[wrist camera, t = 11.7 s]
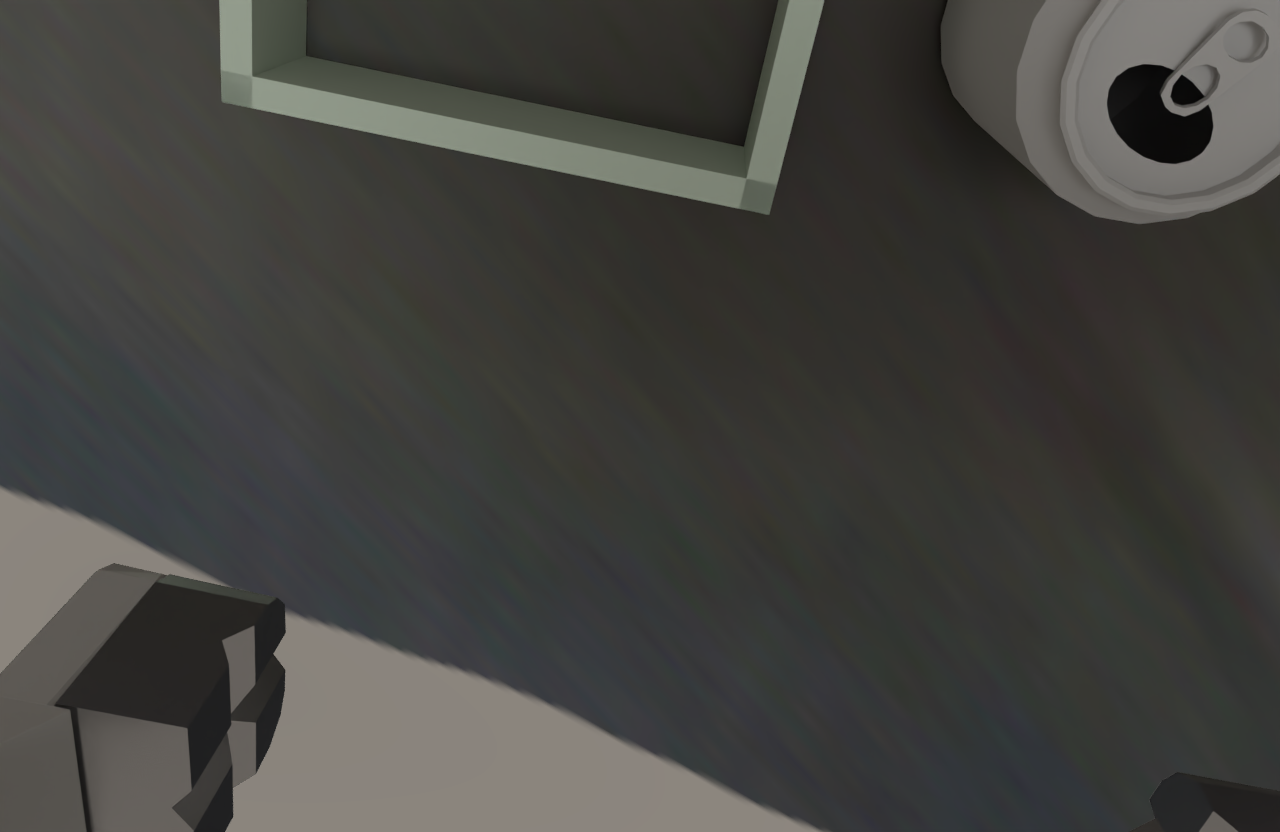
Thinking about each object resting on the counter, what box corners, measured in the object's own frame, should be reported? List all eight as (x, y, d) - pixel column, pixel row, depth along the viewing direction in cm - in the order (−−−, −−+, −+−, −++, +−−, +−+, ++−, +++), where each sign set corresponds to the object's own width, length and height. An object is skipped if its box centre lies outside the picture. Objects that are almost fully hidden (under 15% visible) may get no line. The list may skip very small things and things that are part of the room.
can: (887, 48, 33) (964, 119, 23) (1055, -160, 30) (1235, -189, 19) (1044, 179, 35) (1184, 303, 24) (1219, -4, 32) (1468, 46, 21)
